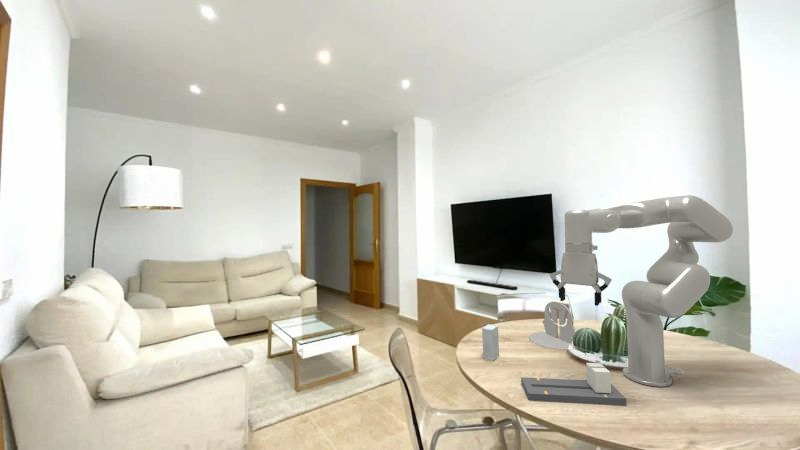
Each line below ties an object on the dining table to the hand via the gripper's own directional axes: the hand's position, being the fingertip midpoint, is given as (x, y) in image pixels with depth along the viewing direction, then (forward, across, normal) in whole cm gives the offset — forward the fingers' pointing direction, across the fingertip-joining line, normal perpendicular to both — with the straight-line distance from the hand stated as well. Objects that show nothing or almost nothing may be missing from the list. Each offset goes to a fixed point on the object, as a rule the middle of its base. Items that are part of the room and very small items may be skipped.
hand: (579, 302), depth 99 cm
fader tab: (+24, -5, +3) cm, 25 cm away
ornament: (+26, +20, -33) cm, 47 cm away
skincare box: (+27, +32, -3) cm, 42 cm away
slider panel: (+26, +1, +7) cm, 27 cm away
